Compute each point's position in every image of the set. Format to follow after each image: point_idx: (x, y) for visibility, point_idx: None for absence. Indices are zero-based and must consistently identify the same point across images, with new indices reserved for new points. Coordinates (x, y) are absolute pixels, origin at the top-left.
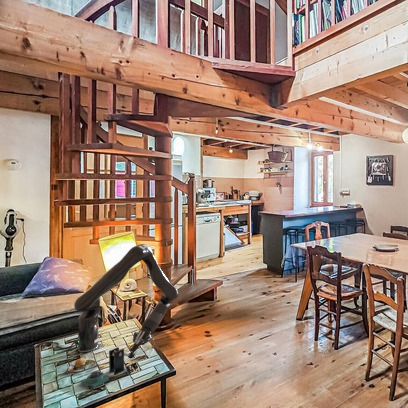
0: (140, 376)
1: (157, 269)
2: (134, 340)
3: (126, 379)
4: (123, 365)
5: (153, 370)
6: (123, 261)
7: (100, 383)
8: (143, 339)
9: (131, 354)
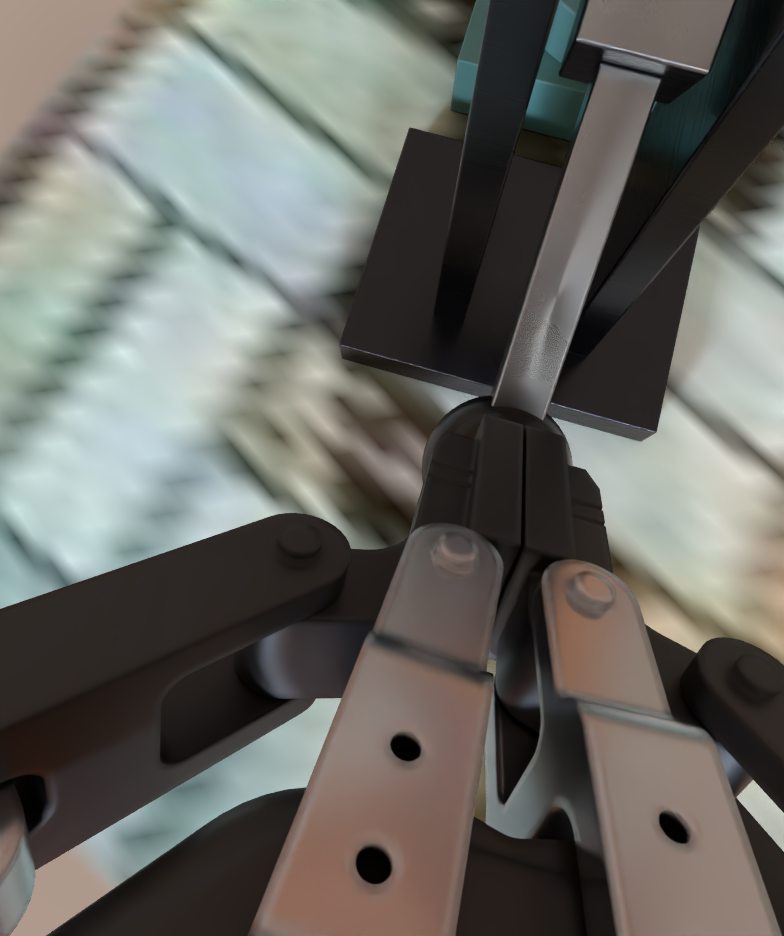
0: (115, 292)
1: None
2: (718, 681)
3: (268, 200)
4: (445, 255)
5: (12, 467)
6: None
7: None
8: (149, 659)
9: (461, 414)
